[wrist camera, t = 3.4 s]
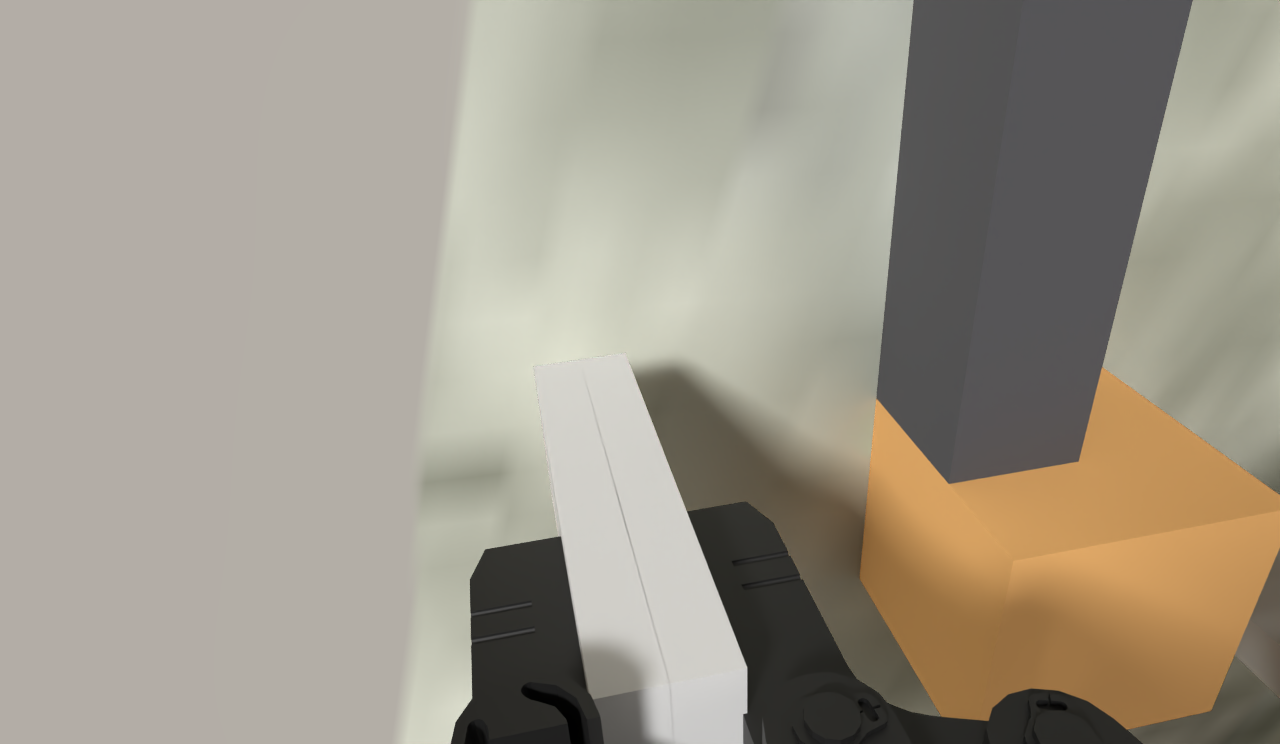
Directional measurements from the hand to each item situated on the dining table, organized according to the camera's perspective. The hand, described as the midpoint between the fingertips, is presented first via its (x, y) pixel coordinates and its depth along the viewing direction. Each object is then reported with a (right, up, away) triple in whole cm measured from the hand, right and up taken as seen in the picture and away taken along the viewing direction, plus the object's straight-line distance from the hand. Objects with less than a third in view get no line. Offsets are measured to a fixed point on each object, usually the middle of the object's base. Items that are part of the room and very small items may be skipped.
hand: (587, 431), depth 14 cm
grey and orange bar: (+8, +5, +1) cm, 9 cm away
